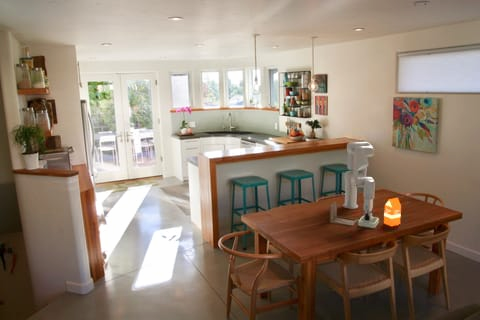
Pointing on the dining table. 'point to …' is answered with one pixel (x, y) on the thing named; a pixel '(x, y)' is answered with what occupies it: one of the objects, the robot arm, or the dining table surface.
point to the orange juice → (392, 212)
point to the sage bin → (366, 224)
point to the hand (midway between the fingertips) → (367, 219)
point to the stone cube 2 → (369, 216)
